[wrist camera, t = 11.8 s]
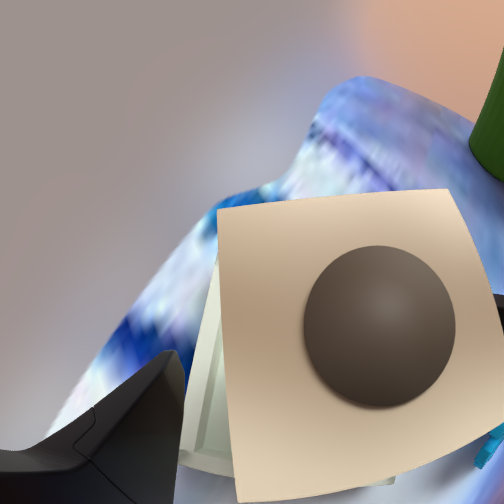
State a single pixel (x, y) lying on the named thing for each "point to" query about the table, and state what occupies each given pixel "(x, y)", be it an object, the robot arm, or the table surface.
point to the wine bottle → (491, 128)
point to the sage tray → (211, 398)
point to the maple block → (353, 340)
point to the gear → (490, 446)
